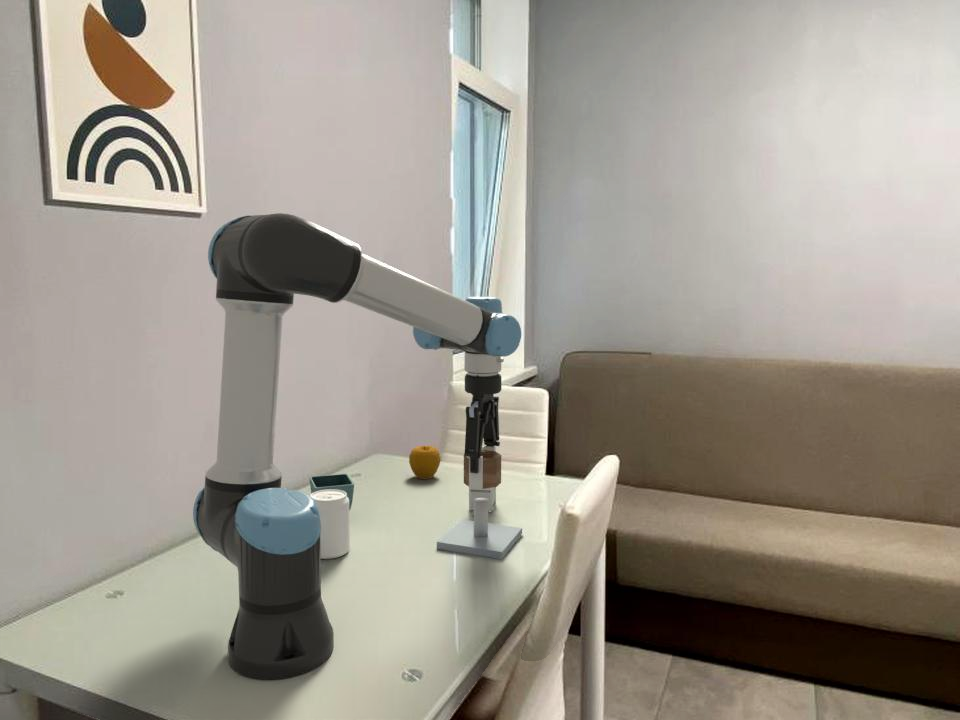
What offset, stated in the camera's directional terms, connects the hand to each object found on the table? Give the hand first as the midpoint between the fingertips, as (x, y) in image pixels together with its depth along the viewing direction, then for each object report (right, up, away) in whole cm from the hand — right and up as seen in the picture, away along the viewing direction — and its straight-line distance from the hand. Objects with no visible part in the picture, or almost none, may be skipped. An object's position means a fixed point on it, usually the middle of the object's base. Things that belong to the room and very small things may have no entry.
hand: (482, 481), depth 147 cm
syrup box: (0, -10, +22) cm, 25 cm away
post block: (0, -13, +2) cm, 13 cm away
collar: (0, 0, 0) cm, 0 cm away
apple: (-16, -7, +46) cm, 49 cm away
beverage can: (-31, -14, -5) cm, 34 cm away
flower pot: (-34, -11, +14) cm, 39 cm away
